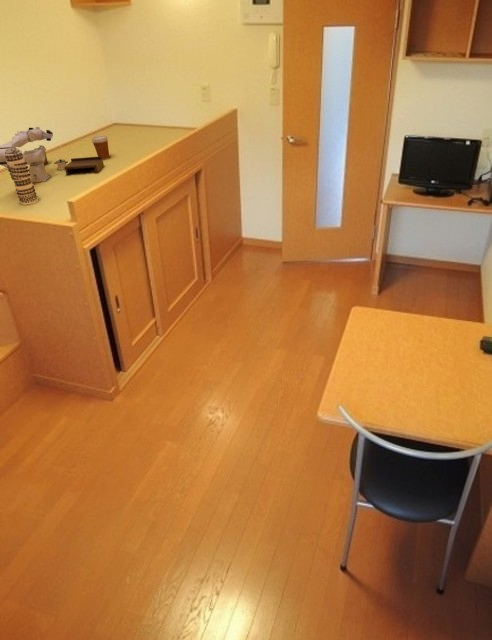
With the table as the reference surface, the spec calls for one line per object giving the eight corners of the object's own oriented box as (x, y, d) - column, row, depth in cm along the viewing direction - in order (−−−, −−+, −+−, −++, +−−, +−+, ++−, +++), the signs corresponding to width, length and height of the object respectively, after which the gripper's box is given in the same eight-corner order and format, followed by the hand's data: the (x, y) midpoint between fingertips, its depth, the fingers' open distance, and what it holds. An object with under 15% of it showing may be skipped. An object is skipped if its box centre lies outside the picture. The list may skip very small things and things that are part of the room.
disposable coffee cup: (93, 159, 295) (87, 139, 288) (103, 155, 302) (98, 135, 295) (104, 160, 291) (100, 140, 284) (115, 156, 298) (110, 136, 291)
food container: (43, 167, 289) (37, 150, 283) (34, 167, 290) (28, 150, 285) (53, 161, 299) (48, 144, 293) (45, 161, 300) (39, 145, 295)
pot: (67, 169, 281) (65, 160, 278) (54, 170, 282) (52, 161, 279) (70, 166, 285) (68, 157, 282) (58, 167, 286) (55, 158, 283)
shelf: (97, 173, 270) (95, 162, 267) (66, 175, 272) (63, 165, 268) (104, 166, 281) (101, 156, 278) (74, 168, 282) (71, 158, 279)
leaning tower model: (41, 197, 243) (25, 146, 229) (35, 203, 235) (18, 151, 221) (23, 199, 243) (5, 147, 229) (17, 205, 235) (-2, 153, 221)
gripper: (46, 129, 260) (57, 127, 273) (20, 125, 261) (32, 123, 273) (47, 143, 264) (58, 140, 276) (21, 139, 264) (33, 137, 276)
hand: (45, 133), depth 275 cm, fingers open, 7 cm apart
